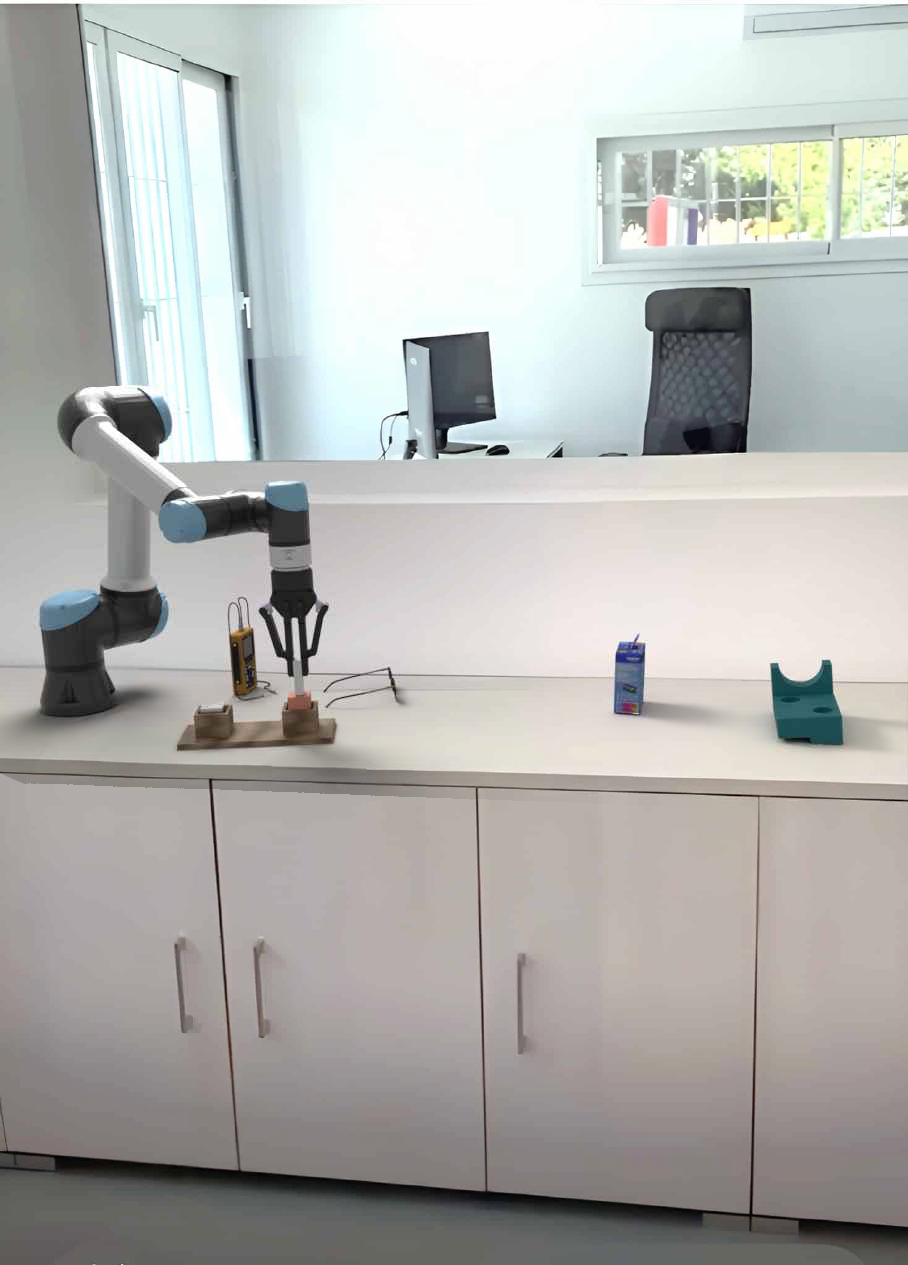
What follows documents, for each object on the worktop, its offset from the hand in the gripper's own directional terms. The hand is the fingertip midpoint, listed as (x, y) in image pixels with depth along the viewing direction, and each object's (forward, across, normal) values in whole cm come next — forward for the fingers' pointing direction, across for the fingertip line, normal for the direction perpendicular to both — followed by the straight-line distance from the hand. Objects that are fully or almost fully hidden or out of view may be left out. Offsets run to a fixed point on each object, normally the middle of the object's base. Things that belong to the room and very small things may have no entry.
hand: (299, 693), depth 215 cm
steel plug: (+7, -16, 0) cm, 17 cm away
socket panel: (+8, -8, 0) cm, 11 cm away
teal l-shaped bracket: (+9, +92, -10) cm, 93 cm away
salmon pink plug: (+5, 0, 0) cm, 5 cm away
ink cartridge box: (+9, +63, +8) cm, 64 cm away
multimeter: (+8, -11, +31) cm, 34 cm away
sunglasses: (+9, +10, +23) cm, 27 cm away
